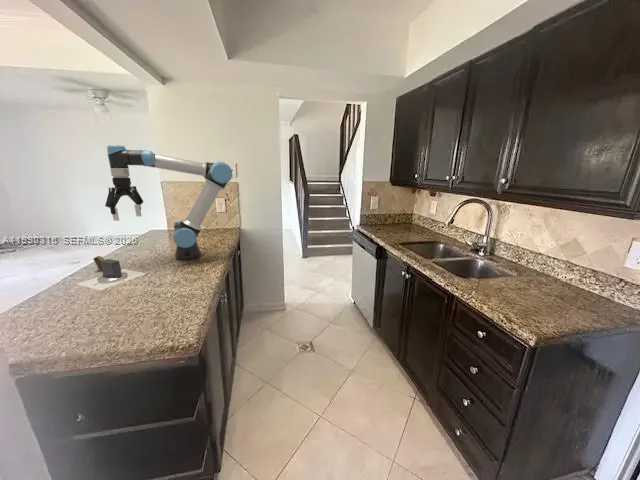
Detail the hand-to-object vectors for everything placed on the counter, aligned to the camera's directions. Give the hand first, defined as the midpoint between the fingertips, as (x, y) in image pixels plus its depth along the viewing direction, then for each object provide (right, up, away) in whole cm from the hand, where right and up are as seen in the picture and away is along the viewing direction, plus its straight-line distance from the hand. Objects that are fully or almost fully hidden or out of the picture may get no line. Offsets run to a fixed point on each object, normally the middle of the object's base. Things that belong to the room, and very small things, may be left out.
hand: (128, 218), depth 143 cm
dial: (0, -31, -10) cm, 32 cm away
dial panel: (0, -32, -10) cm, 33 cm away
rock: (-15, -29, +3) cm, 33 cm away
